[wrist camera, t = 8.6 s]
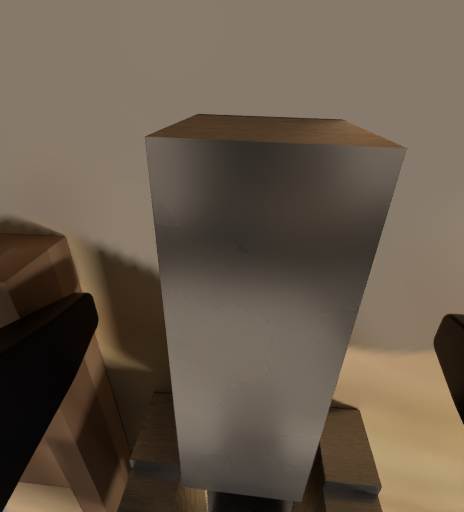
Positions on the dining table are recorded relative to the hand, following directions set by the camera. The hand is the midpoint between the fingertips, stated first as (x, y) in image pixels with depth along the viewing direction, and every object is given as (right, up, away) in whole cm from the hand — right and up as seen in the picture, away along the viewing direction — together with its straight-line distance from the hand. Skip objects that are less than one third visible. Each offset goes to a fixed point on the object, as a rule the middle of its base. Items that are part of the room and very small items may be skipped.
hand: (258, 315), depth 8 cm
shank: (0, +1, +1) cm, 1 cm away
